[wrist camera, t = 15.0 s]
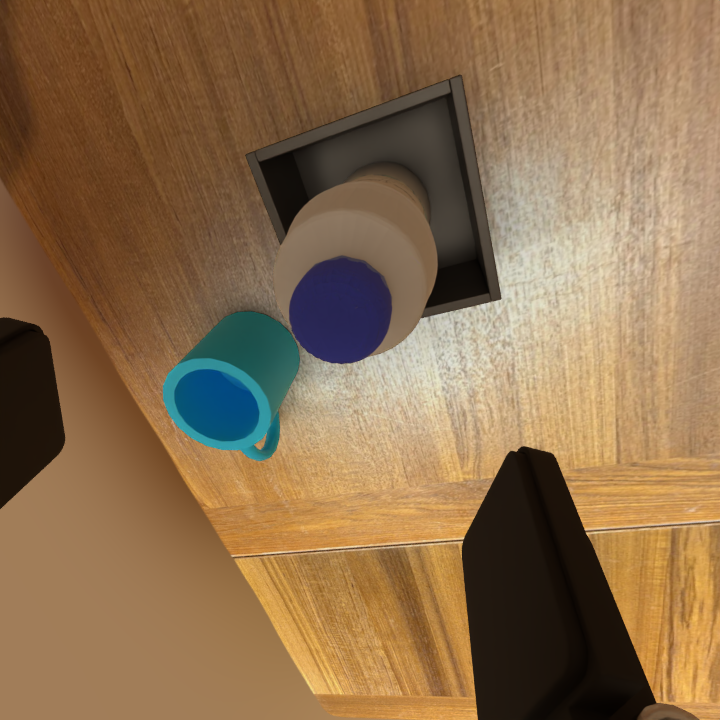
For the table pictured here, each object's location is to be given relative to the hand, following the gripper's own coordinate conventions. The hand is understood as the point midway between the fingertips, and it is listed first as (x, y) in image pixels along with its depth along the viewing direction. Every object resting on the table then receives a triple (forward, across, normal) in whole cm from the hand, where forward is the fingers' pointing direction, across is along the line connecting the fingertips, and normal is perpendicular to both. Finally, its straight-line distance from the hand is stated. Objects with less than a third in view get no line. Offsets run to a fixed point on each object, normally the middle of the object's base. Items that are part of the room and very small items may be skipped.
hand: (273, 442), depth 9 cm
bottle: (+26, 0, 0) cm, 26 cm away
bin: (+26, -1, 0) cm, 26 cm away
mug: (+26, +7, +16) cm, 32 cm away
